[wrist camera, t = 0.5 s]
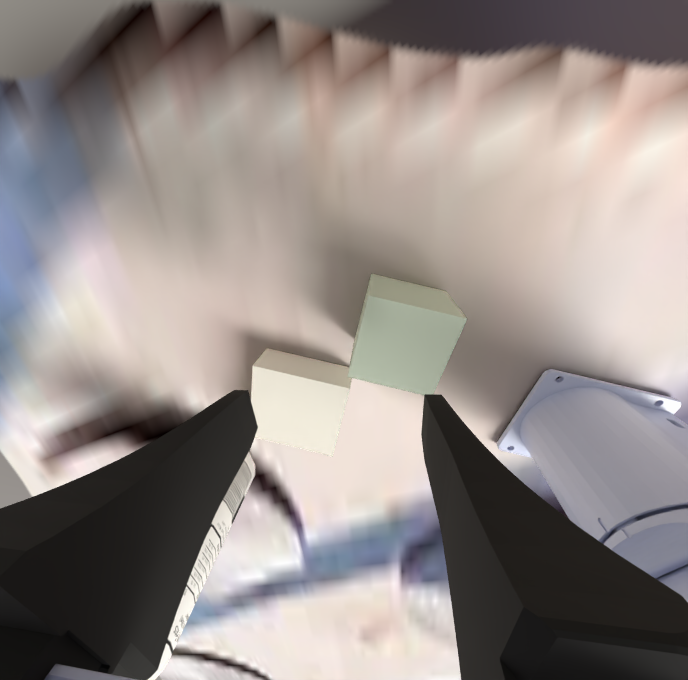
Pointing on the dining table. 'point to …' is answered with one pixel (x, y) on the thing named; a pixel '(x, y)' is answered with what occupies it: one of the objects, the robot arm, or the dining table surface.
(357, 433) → the dining table surface
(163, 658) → the supplement can
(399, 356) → the green cube
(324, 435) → the cream box
